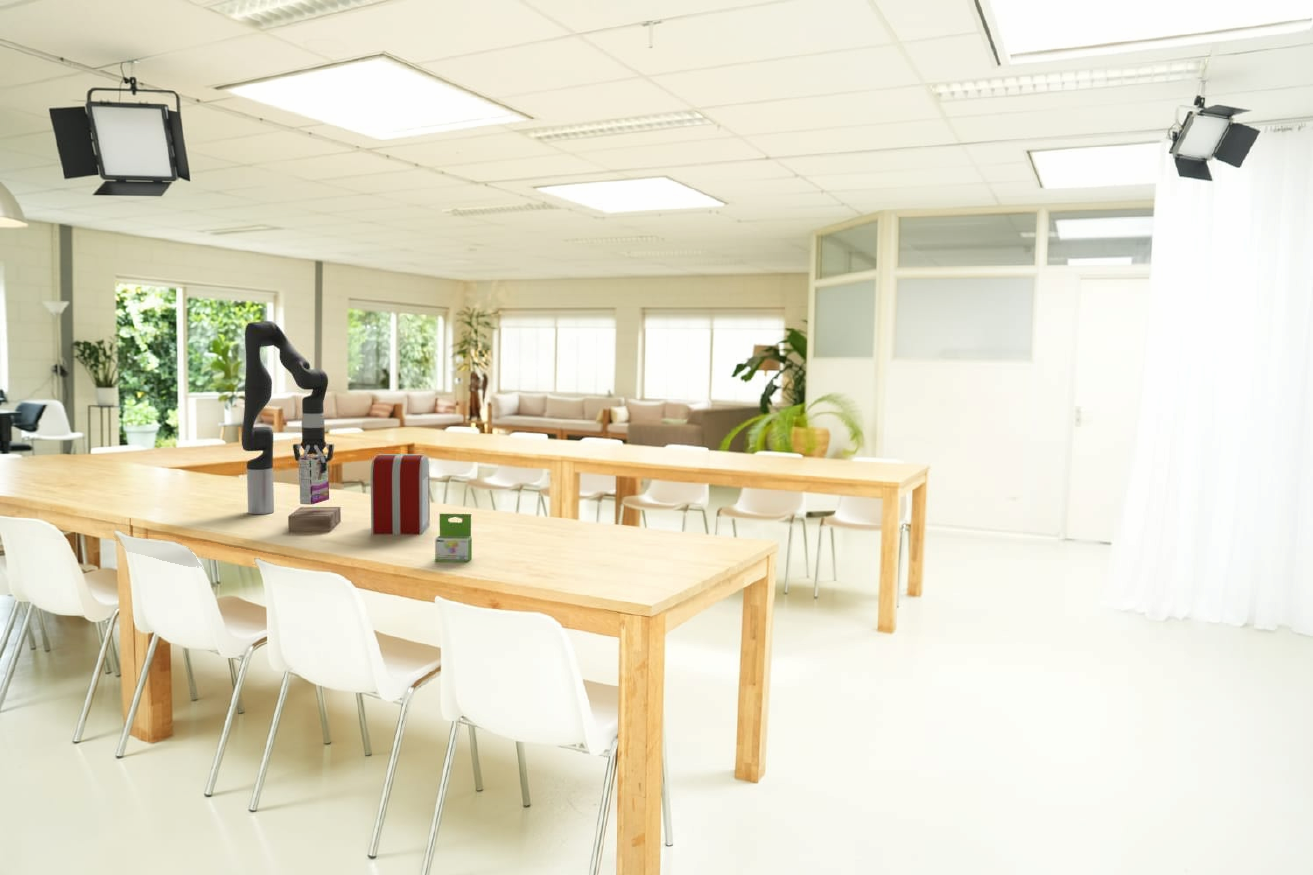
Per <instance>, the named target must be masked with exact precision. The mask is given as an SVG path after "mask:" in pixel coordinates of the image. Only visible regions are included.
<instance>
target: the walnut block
mask: <svg viewBox="0 0 1313 875" xmlns="http://www.w3.org/2000/svg"><path fill="white" fill-rule="evenodd" d="M341 510H342V509H341V506H301V507H299V508H297V509H296V510H295V511H294V512H292V513H290V514H289V515H288V516H287V520H288V521H287V524H288V529H287V530H288V531H287V532H288V533H327V532H328V533H329V532H330V533H331V532H332V531H333V530H334V529H335V528H337V526H338V525H340V524H341V522H342V516H341V514H342V513H341Z"/></svg>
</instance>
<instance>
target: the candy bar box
mask: <svg viewBox="0 0 1313 875" xmlns="http://www.w3.org/2000/svg"><path fill="white" fill-rule="evenodd" d="M327 456H328V454H325V457H326V458H327ZM321 463H322V461H321V459H320V457H319V456H318V454H313V455H309V456H308V457H304V458H302V457H301V458H300V459H299V461H298V471H299V472H298V473H299V475H298V476H299V500H300V501H299V503H300V505H315V504H318V503H322V502H325V501H328V500H330V484H329V481H330V480H329V478H330V477H329V461H328V462H327V471H325V473H322V467H321Z"/></svg>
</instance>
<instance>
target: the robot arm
mask: <svg viewBox="0 0 1313 875" xmlns="http://www.w3.org/2000/svg"><path fill="white" fill-rule="evenodd" d="M244 344H245V345H244V346H245V378H244V412H243V414H244V415H243V420H242V421H243V423H242V430H241V447H242V449H243V450H244V451H245V452H261V451H262V453H261V454H260V455H259V456H257V457H255V458H252V459H250V460H248V461H247V462H246V478H247V479H246V480H247V481H246V483H247V484H246V485H247V486H246V487H247V514H250V515H264V514H265V515H266V514H271V513H274V512H275V497H274V496H275V495H274V494H275V490H274V488H275V487H274V432H273V429H272V427H269V426H254V425H255V421H256V420H257V418H258V416H259V415H260V413H261V412H262V411H263V409H264V408H265V407H266V406H267V405H268V403H269V401H270V400H271V398H272V392H273V391H272V390H273V380H272V377H271V375H270V373H269V371H268V370H267V368H266V367H265V366H264V364H263V362H262V359H261V348H264V347H272V346H274V347H275V348H277V349H278V350H279V361H280V363H281V365H282V366H283V367H284V368H285V369H286V370H287V371H288V372H289V373H290V374H291V376H292V377H293V380H294V382H295V383H296V385H297V387H299V388H300V389H302V390H304V391H305V390H306V391H307V390H308V391H309V390H312V391H311V394H310V395H308V396H307V395H306V396H305V397H303V398H302V402H301V403H302V404H301V406H302V407H301V408H302V409H301V413H302V415H301V442H300V443H294V444H292V450H293V454H294V459H295V461H296V462H299V459H300V458H304V457H309V456H310V455H318V456H319V457H320V459H321V461H322V463H321V467H322V473H325V471H327V462H328V463H329V462H330V461H332V460H333V456H334V455H333V454H334V448H335V444H334V443H327V442H326V441H325V440H326V438H325V436H326V435H325V434H326V433H325V426H326V425H325V414H324V410H325V409H324V401H325V396H326V393H327V390H328V386H329V377H328V374H327V373H326V372H325V370H323V369H311V366H310V365H311V364H310V363H309V362H308V360H307V359H306V358H305V357H303V355H301V353H299V352H298V351H297V350H296V349H295V347H294V346H293V344H292V343H291V341H289V339H288V338H287V336H286V334H285V333H284V332H283V330H282V329H281V328H280V326H279V325H278V324H277V323H275V322H274V321H270V320H265V321H264V320H263V321H252V322H249V323H247V324H246V326H245V329H244ZM301 448H302V449H303V450H304V451H303V454H302V456H301V452H300V449H301ZM325 448H326V449H327V450H328V451H327V455H328V456H327V458H326V457H325V455H326V454H325V452H324V449H325Z"/></svg>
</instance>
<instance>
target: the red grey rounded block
mask: <svg viewBox="0 0 1313 875" xmlns="http://www.w3.org/2000/svg"><path fill="white" fill-rule="evenodd" d="M429 461H430V460H429V457H428V455H427V454H426V455H425V454H424V453H423V454H421V453H420V454H418V453H416V454H414V453H413V454H411V453H408V454H407V453H405V454H403V453H402V454H401V453H399V454H398V453H394V454H393V453H377V454H376V455H375V456H374V457H373V458H372V461H371V465H370V518H371V519H370V527H371V528H370V531H371V532H370V533H371V535H423V534H424V533H425V532H426V530H428V528H429V527H430V526H431V524H430V522H431V519H430V518H431V517H430V516H431V515H430V512H431V511H430V509H431V508H430V503H431V502H430V499H431V498H430V495H431V494H430V462H429Z"/></svg>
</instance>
